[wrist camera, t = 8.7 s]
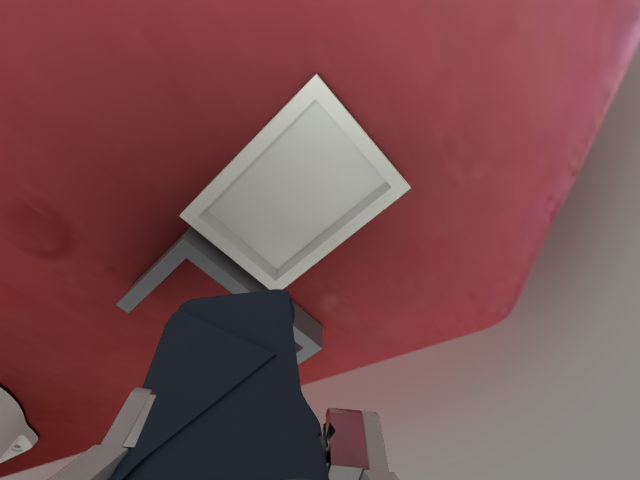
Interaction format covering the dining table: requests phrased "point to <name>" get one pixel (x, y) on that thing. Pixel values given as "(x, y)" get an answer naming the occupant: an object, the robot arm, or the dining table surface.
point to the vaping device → (228, 397)
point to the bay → (226, 275)
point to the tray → (296, 189)
